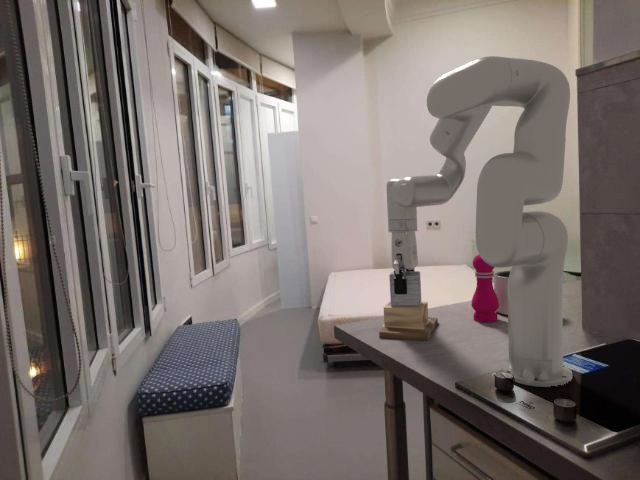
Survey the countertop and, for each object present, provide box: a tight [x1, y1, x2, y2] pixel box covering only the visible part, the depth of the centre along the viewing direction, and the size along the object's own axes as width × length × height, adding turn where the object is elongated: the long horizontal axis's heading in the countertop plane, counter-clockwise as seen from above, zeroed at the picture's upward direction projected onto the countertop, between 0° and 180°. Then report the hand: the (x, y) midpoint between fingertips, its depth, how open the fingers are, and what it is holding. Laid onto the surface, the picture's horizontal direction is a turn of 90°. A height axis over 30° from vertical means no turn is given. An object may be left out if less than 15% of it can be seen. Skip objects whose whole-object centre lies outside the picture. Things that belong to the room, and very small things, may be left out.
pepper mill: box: [471, 254, 499, 323], centre depth 130 cm, size 7×7×20 cm
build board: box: [378, 316, 439, 342], centre depth 126 cm, size 16×12×2 cm
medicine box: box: [388, 270, 422, 306], centre depth 126 cm, size 8×4×9 cm, turn 76°
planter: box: [493, 270, 511, 317], centre depth 137 cm, size 13×13×11 cm
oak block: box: [383, 300, 429, 328], centre depth 127 cm, size 8×10×5 cm
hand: (405, 290), depth 126 cm, fingers open, 9 cm apart
